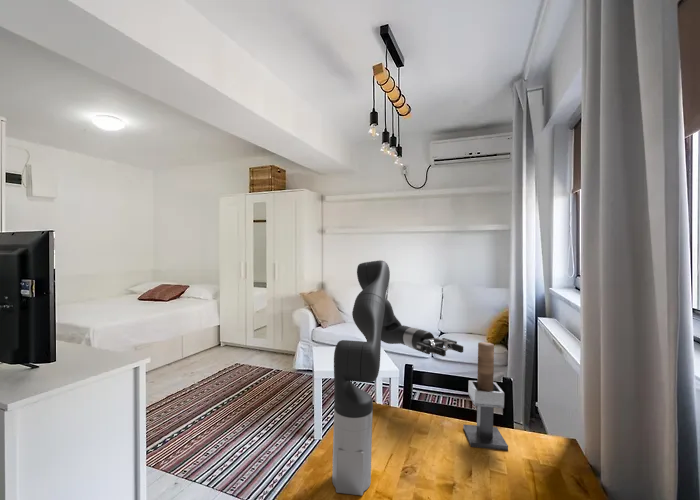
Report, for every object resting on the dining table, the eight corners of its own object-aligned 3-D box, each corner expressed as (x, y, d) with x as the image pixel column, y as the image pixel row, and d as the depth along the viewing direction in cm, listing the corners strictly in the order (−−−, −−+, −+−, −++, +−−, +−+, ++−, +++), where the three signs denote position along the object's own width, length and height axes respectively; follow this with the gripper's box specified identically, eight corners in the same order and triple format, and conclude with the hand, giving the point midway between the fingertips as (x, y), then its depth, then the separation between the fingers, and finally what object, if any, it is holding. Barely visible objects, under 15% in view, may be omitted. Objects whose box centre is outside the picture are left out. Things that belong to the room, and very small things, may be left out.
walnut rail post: (495, 401, 96) (496, 346, 96) (479, 400, 96) (480, 345, 97) (490, 395, 100) (491, 342, 100) (475, 394, 101) (476, 341, 101)
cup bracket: (508, 450, 93) (509, 394, 93) (471, 446, 94) (472, 392, 94) (496, 431, 102) (497, 381, 103) (463, 428, 104) (464, 378, 104)
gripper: (404, 331, 117) (439, 342, 103) (432, 327, 125) (468, 337, 111) (403, 352, 117) (438, 366, 103) (431, 347, 125) (468, 359, 111)
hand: (454, 351), depth 107 cm, fingers open, 8 cm apart
